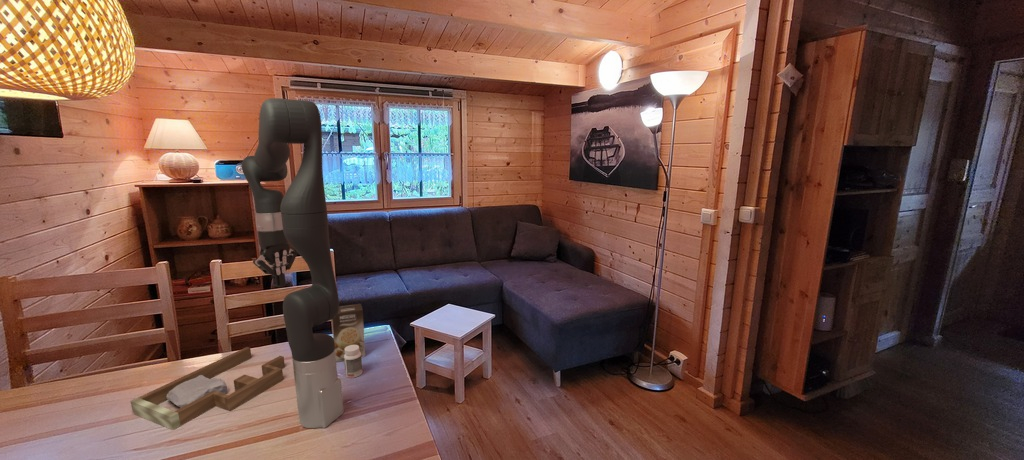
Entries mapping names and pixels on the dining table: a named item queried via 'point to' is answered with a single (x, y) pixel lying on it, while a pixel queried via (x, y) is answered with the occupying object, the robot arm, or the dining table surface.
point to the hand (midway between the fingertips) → (279, 286)
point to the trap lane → (243, 392)
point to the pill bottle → (353, 361)
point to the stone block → (195, 390)
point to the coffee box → (348, 330)
